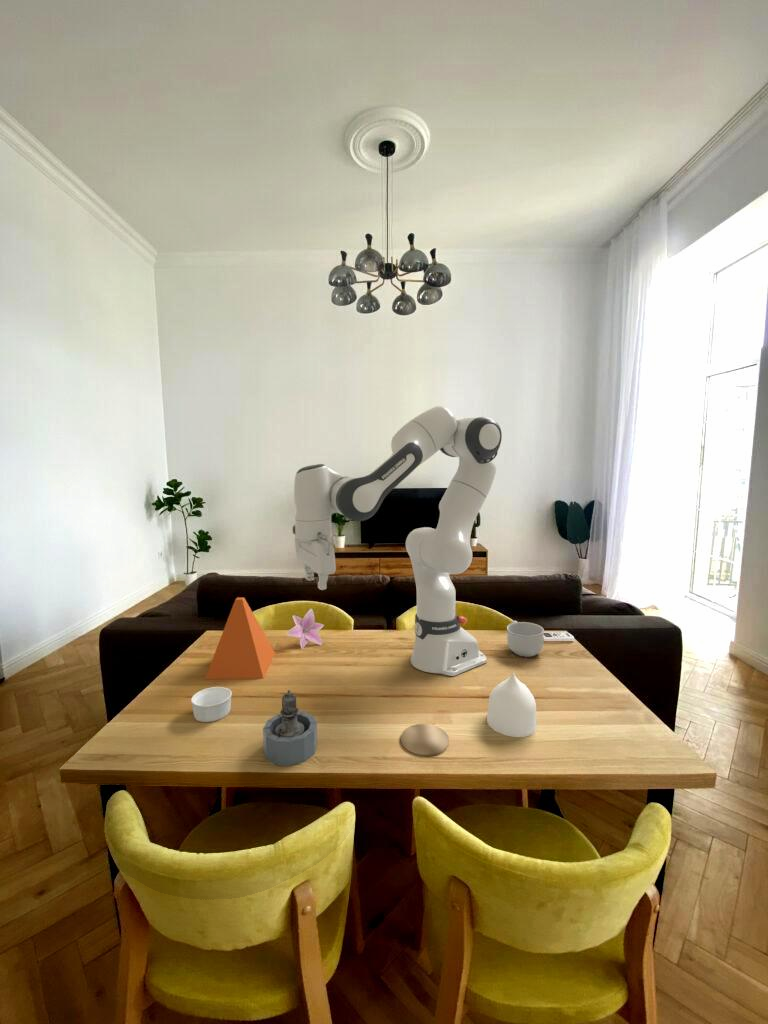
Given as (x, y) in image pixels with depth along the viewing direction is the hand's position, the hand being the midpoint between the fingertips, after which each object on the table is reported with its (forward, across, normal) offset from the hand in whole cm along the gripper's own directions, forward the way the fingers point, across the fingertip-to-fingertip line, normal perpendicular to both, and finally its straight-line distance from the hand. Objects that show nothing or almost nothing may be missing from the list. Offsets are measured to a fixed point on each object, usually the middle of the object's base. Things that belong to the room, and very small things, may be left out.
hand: (316, 584), depth 113 cm
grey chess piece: (+27, -21, +14) cm, 37 cm away
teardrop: (+29, -35, -33) cm, 56 cm away
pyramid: (+28, +22, +16) cm, 39 cm away
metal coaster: (+28, -31, -12) cm, 44 cm away
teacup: (+29, -7, -64) cm, 70 cm away
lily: (+28, +29, -5) cm, 41 cm away
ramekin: (+27, 0, +26) cm, 38 cm away
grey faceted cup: (+27, -21, +14) cm, 37 cm away
